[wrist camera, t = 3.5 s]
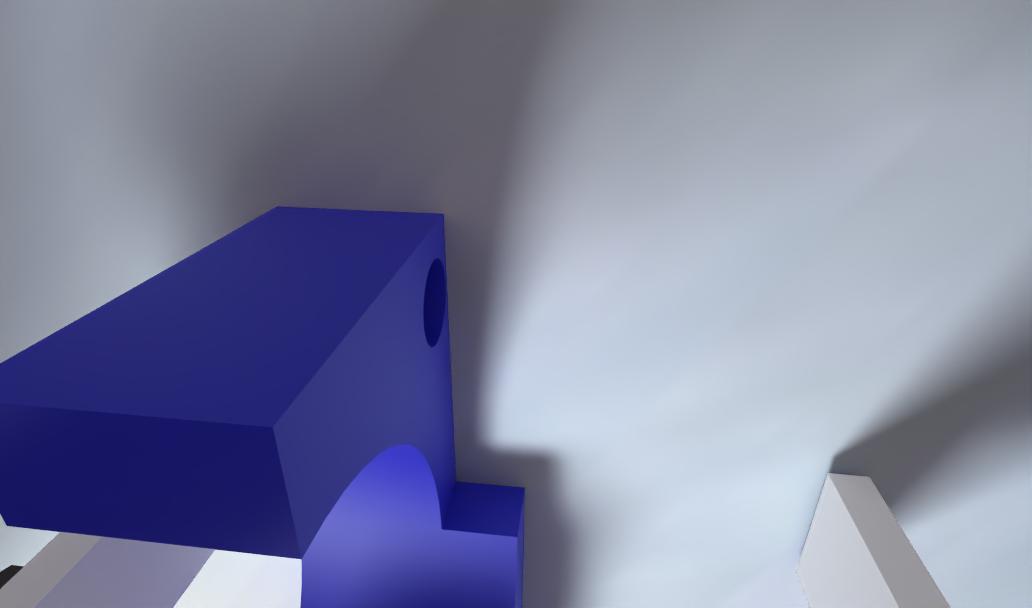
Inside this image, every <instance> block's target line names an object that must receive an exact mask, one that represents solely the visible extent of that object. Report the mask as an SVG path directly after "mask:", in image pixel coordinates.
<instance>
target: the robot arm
mask: <svg viewBox="0 0 1032 608" xmlns="http://www.w3.org/2000/svg"><path fill="white" fill-rule="evenodd" d="M214 550H215V549H208V548H199V547H190V546H181V545H172V544H163V543H155V542H146V541H137V540H128V539H119V538H110V537H102V536H93V535H84V534H75V533H66V532H60V533H59V534H58V535H57V536H56V537H55V538H54V539H53V540H52V541H51V542H49V543H48V544H47V545H46V546H45V547H44V548H43V549H42V550H41V551H40V552H39V553H38V554H37V555H36V556H35V557H34V558H33V559H32V560H30V561H29V562H28V563H27V564H26V565H25V566H24V567H23V566H14V565H11V566H9V567H8V568H6V569H4V570H3V571H1V572H0V608H173V607H174V605H175V604H176V603H177V601H178V600H179V598H180V597H181V596H182V594H183V593H184V592H185V590H186V589H187V587H188V586H189V585H190V583H191V582H192V581H193V579H194V578H195V576H196V575H197V574H198V572H199V571H200V569H201V568H202V567H203V565H204V564H205V563H206V561H207V560H208V558H209V557H210V556H211V554H212V553H213V552H214ZM796 574H797V576H798V579H799V582H800V584H801V587H802V590H803V593H804V595H805V598H806V601H807V603H808V606H809V608H950V606H949V604H948V603H947V601H946V600H945V598H944V596H943V595H942V593H941V592H940V590H939V588H938V587H937V585H936V583H935V582H934V580H933V579H932V577H931V575H930V574H929V572H928V570H927V569H926V567H925V566H924V564H923V562H922V561H921V559H920V558H919V556H918V554H917V553H916V551H915V549H914V548H913V546H912V545H911V543H910V541H909V540H908V538H907V537H906V535H905V533H904V532H903V530H902V528H901V527H900V525H899V524H898V522H897V520H896V519H895V517H894V515H893V514H892V512H891V511H890V509H889V507H888V506H887V504H886V503H885V501H884V499H883V498H882V496H881V494H880V493H879V491H878V490H877V488H876V486H875V485H874V483H873V481H872V480H871V478H870V477H866V476H855V475H844V474H832V473H828V474H827V478H826V481H825V484H824V487H823V490H822V493H821V496H820V499H819V502H818V505H817V508H816V511H815V514H814V517H813V520H812V523H811V527H810V530H809V533H808V536H807V539H806V542H805V545H804V548H803V551H802V554H801V557H800V560H799V563H798V566H797V569H796Z"/></svg>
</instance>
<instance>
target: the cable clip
mask: <svg viewBox="0 0 1032 608" xmlns="http://www.w3.org/2000/svg"><path fill="white" fill-rule="evenodd" d="M524 500H525V488H520V487H510V486H499V485H488V484H478V483H467V482H456V468H455V447H454V426H453V404H452V383H451V362H450V341H449V320H448V298H447V277H446V256H445V235H444V214H430V213H408V212H386V211H364V210H342V209H319V208H297V207H276V208H274V209H272V210H270V211H269V212H267V213H265V214H263V215H261V216H260V217H258V218H256V219H254V220H253V221H251V222H249V223H247V224H246V225H244V226H242V227H240V228H239V229H237V230H235V231H233V232H231V233H230V234H228V235H226V236H224V237H223V238H221V239H219V240H217V241H216V242H214V243H212V244H210V245H209V246H207V247H205V248H203V249H201V250H200V251H198V252H196V253H194V254H193V255H191V256H189V257H187V258H186V259H184V260H182V261H180V262H179V263H177V264H175V265H173V266H171V267H170V268H168V269H166V270H164V271H163V272H161V273H159V274H157V275H156V276H154V277H152V278H150V279H149V280H147V281H145V282H143V283H141V284H140V285H138V286H136V287H134V288H133V289H131V290H129V291H127V292H126V293H124V294H122V295H120V296H119V297H117V298H115V299H113V300H111V301H110V302H108V303H106V304H104V305H103V306H101V307H99V308H97V309H96V310H94V311H92V312H90V313H89V314H87V315H85V316H83V317H81V318H80V319H78V320H76V321H74V322H73V323H71V324H69V325H67V326H66V327H64V328H62V329H60V330H59V331H57V332H55V333H53V334H51V335H50V336H48V337H46V338H44V339H43V340H41V341H39V342H37V343H36V344H34V345H32V346H30V347H29V348H27V349H25V350H23V351H21V352H20V353H18V354H16V355H14V356H13V357H11V358H9V359H7V360H6V361H4V362H2V363H0V514H1V516H2V518H3V520H4V521H5V523H6V525H7V526H13V527H22V528H31V529H40V530H49V531H57V532H66V533H75V534H84V535H93V536H102V537H110V538H119V539H128V540H137V541H146V542H155V543H163V544H172V545H181V546H190V547H199V548H208V549H216V550H225V551H234V552H243V553H252V554H261V555H269V556H278V557H287V558H296V559H302V592H301V608H522V592H523V546H524Z"/></svg>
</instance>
